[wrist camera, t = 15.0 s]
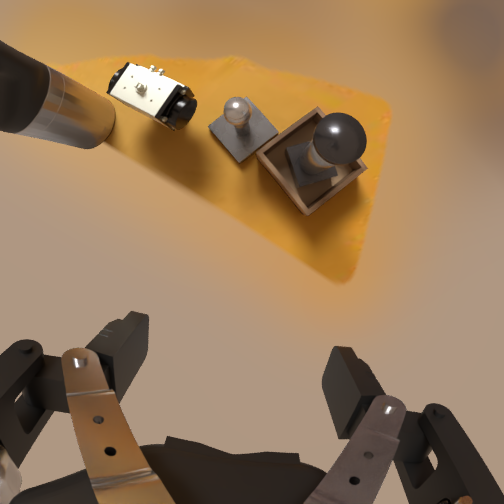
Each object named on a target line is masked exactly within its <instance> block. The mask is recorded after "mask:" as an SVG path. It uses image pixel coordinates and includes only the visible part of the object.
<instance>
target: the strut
mask: <svg viewBox="0 0 504 504" xmlns="http://www.w3.org/2000/svg"><path fill="white" fill-rule="evenodd" d="M366 143H367V140H366V134H365V131H364V129H363V127H362V125H361V124H360V123H359V122H358V121H357V120H356V119H355V118H353V117H352V116H350V115H348V114H344V113H331V114H329V115H326V116H325V117H323V118H322V119H321V120H320V122H319V123H318V124H317V126H316V127H315V130H314V132H313V139H312V140H311V141H308V142H304V143H301V144H297V145H293V146H290V147H286V150H285V152H284V153H285V156H286V159H287V162H288V165H289V168H290V171H291V174H292V177H293V181H294V184H295V187H296V188H299V187H302V186H306V185H309V184H312V183H316V182H319V181H323V180H326V179H330V178H333V177H336V176H338V174H337V171H336V168H335V165H338V166H342V165H347V164H350V163H352V162H354V161H356V160H358V159H359V158H360V157H361V156H362V154H363V153H364V151H365V148H366Z"/></svg>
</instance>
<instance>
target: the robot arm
mask: <svg viewBox="0 0 504 504" xmlns="http://www.w3.org/2000/svg"><path fill="white" fill-rule="evenodd" d="M114 120H115V111H114V107H113V105H112V103H111V102H110V101H109V100H107V99H106V98H104V97H102V96H101V95H99V94H97V93H96V92H94V91H92V90H90V89H89V88H87V87H85V86H83V85H82V84H80V83H78V82H76V81H75V80H73V79H71V78H69V77H67V76H65V75H64V74H62V73H60V72H58V71H56V70H54V69H52V68H50V67H49V66H47V65H45V64H43V63H41V62H39V61H37V60H35V59H33V58H31V57H29V56H27V55H25V54H23V53H21V52H19V51H17V50H16V49H14V48H12V47H10V46H8V45H7V44H5V43H4V42H2V41H1V40H0V131H3V132H8V133H14V134H19V135H24V136H29V137H34V138H39V139H44V140H48V141H53V142H57V143H62V144H66V145H70V146H75V147H78V148H83V149H91V148H94V147H96V146H98V145H100V144H101V143H102V142H103V141H104V140H105V139H106V138H107V137H108V135H109V134H110V132H111V130H112V128H113V125H114ZM148 330H149V316H148V315H147V314H143V313H138V312H134V311H131V312H130V313H129V314H128V315H127V316H126V317H125V318H124V319H123V320H121V319H117V320H114V321H112V322H109V323H108V324H107V325H106V326H105V327H104V328H103V330H101V331H100V332H99V334H98V335H97V336H96V337H95V338H94V339H93V340H92V341H91V342H90V343H89V344H88V345H87V346H86V347H85V348H73V349H69V350H67V351H66V352H64V353H63V355H62V357H56V356H49V355H44V354H43V349H42V346H41V345H40V344H39V343H38V342H36V341H34V340H28V339H26V340H20V341H17V342H15V343H13V344H12V345H11V346H10V347H9V348H8V349H6V351H4V352H3V353H2V354H1V355H0V504H373V502H374V500H375V498H376V496H377V494H378V491H379V490H380V488H381V485H382V483H383V481H384V479H385V477H386V474H387V472H388V470H389V467H390V465H391V462H392V460H394V463H395V466H396V469H397V471H398V474H399V476H400V479H401V482H402V485H403V488H404V490H405V493H406V496H407V499H408V502H409V504H504V495H503V493H502V491H501V490H500V488H499V486H498V484H497V483H496V481H495V479H494V477H493V476H492V474H491V472H490V471H489V469H488V468H487V466H486V464H485V463H484V461H483V459H482V458H481V456H480V455H479V453H478V452H477V450H476V448H475V447H474V445H473V444H472V442H471V441H470V439H469V438H468V436H467V435H466V433H465V431H464V430H463V428H462V427H461V426H460V424H459V423H458V421H457V420H456V418H455V417H454V415H453V414H452V412H451V411H450V410H449V409H447V408H446V407H445V406H443V405H440V404H435V403H432V404H428V405H427V406H426V407H425V409H424V410H423V412H422V413H418V412H411V411H406V406H405V405H404V403H403V402H402V401H401V400H399V399H397V398H395V397H393V396H389V395H386V394H385V392H384V390H383V389H382V387H381V385H380V384H379V382H378V380H377V379H376V377H375V375H374V374H373V373H372V370H371V369H370V367H369V366H368V365H367V364H366V363H365V362H364V361H363V360H361V359H358V358H357V356H356V354H355V353H354V351H353V349H352V348H351V347H341V346H334V348H333V349H332V352H331V354H330V357H329V360H328V363H327V365H326V369H325V371H324V374H323V377H322V389H323V392H324V395H325V398H326V401H327V404H328V407H329V410H330V413H331V416H332V420H333V423H334V426H335V429H336V432H337V435H338V439H350V440H349V442H348V443H347V445H346V447H345V448H344V450H343V451H342V453H341V454H340V456H339V457H338V459H337V460H336V461H335V463H334V464H333V466H332V467H331V469H330V470H329V471H328V473H326V472H324V471H323V470H321V469H319V468H316V467H313V466H312V465H309V464H305V463H302V462H300V459H299V454H298V453H280V452H260V453H250V454H230V453H226V452H223V451H221V450H218V449H215V448H212V447H209V446H206V445H204V444H201V443H197V442H193V441H188V440H183V439H178V438H174V437H170V436H167V438H166V441H165V444H151V445H144V446H138V444H137V442H136V440H135V438H134V436H133V434H132V431H131V429H130V427H129V425H128V423H127V421H126V418H125V416H124V414H123V412H122V410H121V407H120V405H119V403H120V401H121V400H122V398H123V396H124V394H125V393H126V391H127V389H128V387H129V386H130V384H131V382H132V381H133V379H134V377H135V375H136V374H137V372H138V370H139V368H140V367H141V365H142V363H143V362H144V360H145V358H146V355H147V351H148ZM21 391H22V395H21V396H20V397H19V398H18V400H17V401H16V402H15V399H16V398H17V396H18V395H19V394H20V393H21ZM54 411H59V412H64V413H70V414H71V419H72V422H73V427H74V431H75V434H76V438H77V442H78V445H79V449H80V452H81V455H82V458H83V461H84V464H85V467H86V469H84V470H81V471H78V472H76V473H74V474H71V475H68V476H65V477H63V478H60V479H57V480H54V481H51V482H48V483H45V484H42V485H39V486H36V487H32V488H29V489H26V490H24V491H22V492H20V487H21V484H22V477H21V474H20V472H19V470H18V468H19V467H20V465H21V463H22V462H23V460H24V458H25V456H26V454H27V453H28V451H29V450H30V448H31V446H32V445H33V443H34V442H35V440H36V439H37V437H38V435H39V434H40V432H41V430H42V429H43V428H44V426H45V424H46V423H47V421H48V420H49V418H50V417H51V415H52V414H53V412H54ZM432 450H433V451H434V453H435V455H436V457H437V460H438V465H437V468H436V470H434V468H433V466H432V464H431V462H430V460H429V458H428V455H429V453H430V452H431V451H432Z"/></svg>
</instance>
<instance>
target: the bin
mask: <svg viewBox="0 0 504 504" xmlns="http://www.w3.org/2000/svg"><path fill="white" fill-rule="evenodd" d="M325 116H326V115H325V114H324V113H323V112H322V110H321V109H320V108H319V107H316V108H315V109H313V110H312V111H311V112H309V113H308V114H306V115H305V116H304V117H302V118H301V119H299V120H298V121H297V122H295V123H294V124H293V125H291V126H290V127H288V128H287V129H286V130H284V131H283V132H282V133H280V134H279V135H278V136H276V137H275V138H274V139H272V140H271V141H270V142H269V143H267V144H266V145H265V146H263V147H262V148H261V149H259V150H258V151H257V152H256V155H257V159H258V160H259V161H260V162H261V163H262V165H263V166H264V167H265V168H266V169H267V171H268V172H269V173H270V174H271V175H272V177H273V178H274V179H275V180H276V182H277V183H278V184H279V185H280V187H281V188H282V189H283V190H284V191H285V193H286V194H287V195H288V196H289V198H290V199H291V200H292V201H293V203H294V204H295V205H296V207H297V208H298V209H299V210H300V212H301V213H302V214H303V215H306V216H309V215H310V214H311V213H312V212H314V211H315V210H316V209H317V208H319V207H320V206H321V205H323V204H324V203H325V202H326V201H328V200H329V199H330V198H331V197H333V196H334V195H335V194H336V193H338V192H339V191H340V190H341V189H343V188H344V187H345V186H346V185H348V184H349V183H350V182H351V181H353V180H354V179H355V178H356V177H358V176H359V175H360V174H361V173H363V172H364V171H365V170H366V169H368V168H367V167H366V165H365V164H364V163H363V161H362V160H361V159H360V158H359V159H358V160H356V161H354V162H352V163H350V164H347V165H342V166H338V165H335V168H336V171H337V174H338V176H336V177H333V178H330V179H326V180H323V181H319V182H316V183H312V184H309V185H306V186H302V187H299V188H296V187H295V184H294V181H293V177H292V174H291V171H290V168H289V165H288V162H287V159H286V156H285V153H284V152H285V150H286V147H290V146H293V145H297V144H301V143H304V142H308V141H311V140H312V139H313V132H314V130H315V127H316V126H317V124H318V123H319V122H320V120H321V119H322V118H323V117H325Z"/></svg>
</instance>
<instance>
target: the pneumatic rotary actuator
mask: <svg viewBox="0 0 504 504" xmlns="http://www.w3.org/2000/svg"><path fill="white" fill-rule="evenodd" d="M150 68H151V69H147V68H144V67H142V66H140V65H137V64H136V65H133V64H131V63H128V62H127V63H126V65H125V66H124V67H123V68H122V69H120V70H118V71H117V72H116V73H115V74H114V75H113V77H112V78H111V80H110V83H109V87H108V91H107V94H109V95H111V96H112V97H114V98H115V99H117V100H119V101H120V102H122V103H123V104H125V105H126V106H128V107H130V108H132V109H134V110H136V111H138V112H140V113H142V114H144V115H146V116H147V117H149V118H151V119H153V120H155V121H157V122H159V123H160V124H162V125H164V126H166V127H168V128H170V129H171V130H173V131H175V129H177V130H180V129H182V128H183V127H184V126H186V125H187V123H188V122H189V121H190V120H191V118H192V116H193V115H194V113H195V110H196V107H197V100H196V99H194V98H193V97H194V94H193V93H192V91H191V90H190V88H189V87H187V86H185V85H183V84H180V83H178V82H176V81H174V80H172V79H170V78H167V77H165V76H163V74H164V72H165V71H164V70H162V69H160V70H159V72H157V73H156V72H154V70H156V69H157V68H156V67H155V66H153V65H152V66H151V67H150Z"/></svg>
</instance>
